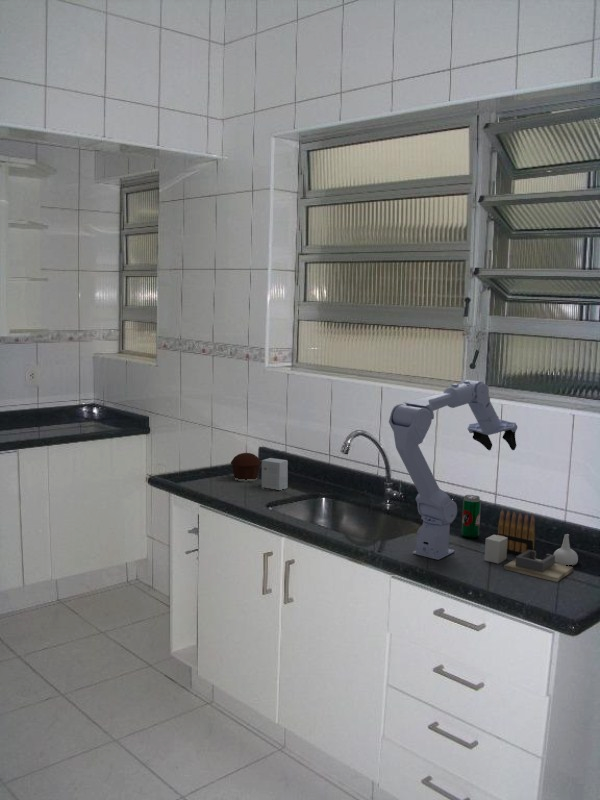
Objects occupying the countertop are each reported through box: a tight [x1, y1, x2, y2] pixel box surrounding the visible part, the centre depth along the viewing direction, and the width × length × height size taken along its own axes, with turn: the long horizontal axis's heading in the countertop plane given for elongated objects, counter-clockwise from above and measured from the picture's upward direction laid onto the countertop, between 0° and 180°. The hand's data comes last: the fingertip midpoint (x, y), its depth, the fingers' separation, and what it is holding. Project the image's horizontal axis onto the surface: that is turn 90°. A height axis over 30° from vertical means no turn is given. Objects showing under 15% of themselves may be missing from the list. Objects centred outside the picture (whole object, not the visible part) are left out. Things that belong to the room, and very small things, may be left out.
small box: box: [261, 457, 289, 491], centre depth 284 cm, size 8×6×10 cm
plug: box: [484, 534, 508, 564], centre depth 211 cm, size 6×4×6 cm
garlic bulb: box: [553, 533, 579, 566], centre depth 210 cm, size 6×6×8 cm
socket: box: [515, 550, 556, 573], centre depth 204 cm, size 8×7×2 cm
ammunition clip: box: [496, 508, 536, 557], centre depth 215 cm, size 11×2×12 cm, turn 51°
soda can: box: [461, 494, 482, 539], centre depth 231 cm, size 5×5×12 cm
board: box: [503, 558, 574, 583], centre depth 203 cm, size 11×14×1 cm
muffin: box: [230, 452, 262, 480], centre depth 297 cm, size 12×11×10 cm
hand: (502, 447), depth 229 cm, fingers open, 7 cm apart
